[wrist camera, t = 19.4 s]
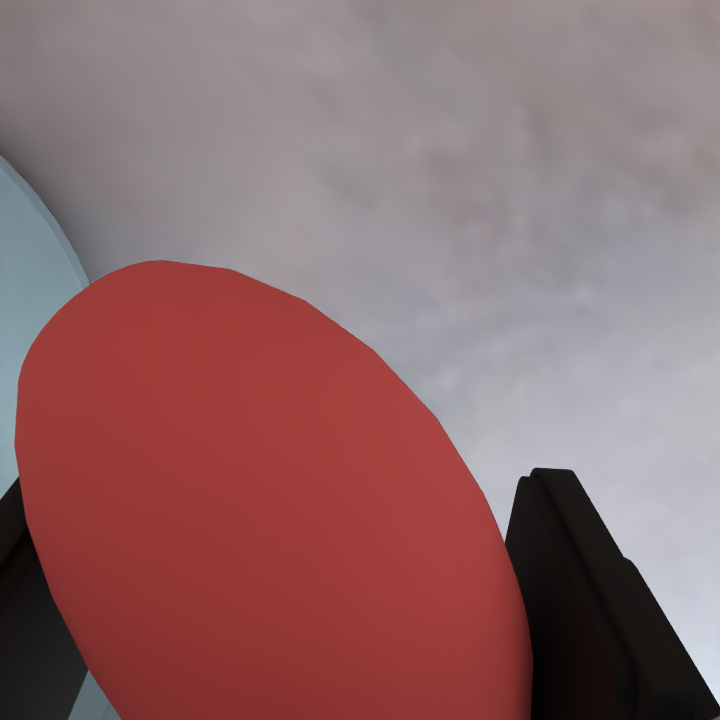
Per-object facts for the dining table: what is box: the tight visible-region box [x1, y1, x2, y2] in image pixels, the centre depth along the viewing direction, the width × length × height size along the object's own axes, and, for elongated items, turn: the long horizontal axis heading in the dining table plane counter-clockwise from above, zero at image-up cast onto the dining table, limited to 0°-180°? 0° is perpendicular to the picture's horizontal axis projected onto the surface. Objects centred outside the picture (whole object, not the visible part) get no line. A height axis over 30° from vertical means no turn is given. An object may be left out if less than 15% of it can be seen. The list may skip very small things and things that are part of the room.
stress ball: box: [14, 260, 533, 720], centre depth 8 cm, size 5×9×6 cm, turn 9°
